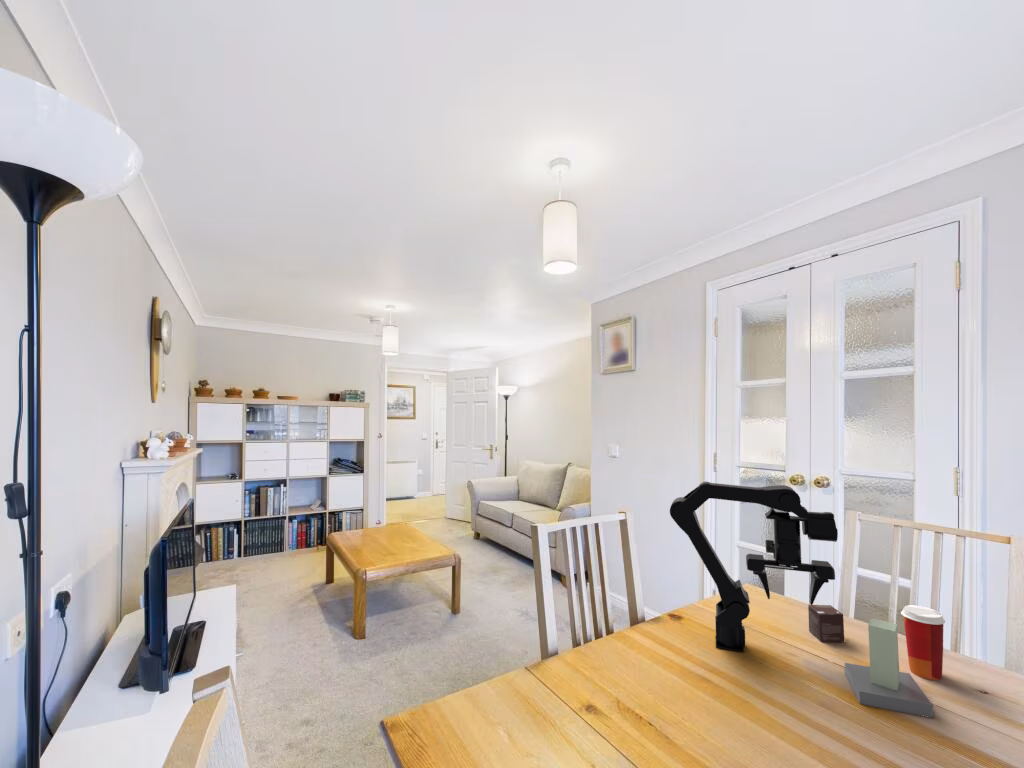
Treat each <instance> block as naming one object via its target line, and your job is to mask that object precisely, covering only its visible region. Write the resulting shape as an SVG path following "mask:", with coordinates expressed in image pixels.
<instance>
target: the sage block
mask: <svg viewBox="0 0 1024 768" xmlns="http://www.w3.org/2000/svg"><path fill="white" fill-rule="evenodd" d="M867 625H868V626H867V627H868V628H867V629H868V646H869V647H868V649H869V653H868V654H869V667H870V675H871V683H874V684H877V685H880V686H883V687H887V688H890V689H893V690H896V691H898V688H899V683H900V676H899V672H900V661H899V660H900V659H899V658H900V657H899V639H898V638H899V637H898V624H897V623H893V622H891V621H890V622H889V621H886V620H881V619H876V618H873V617H871V618H870V619H869V622H868V624H867Z"/></svg>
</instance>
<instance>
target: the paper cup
mask: <svg viewBox="0 0 1024 768" xmlns="http://www.w3.org/2000/svg"><path fill="white" fill-rule="evenodd" d="M900 615H901V616H903V624H904V632H905V634H904V635H905V643H906V649H907V651H906V652H907V658H908V659H907V660H908V666H909V667H908V668H909V670H911V671H910V672H911V673H912V674H913V675H915V676H918V677H919V678H922V677H923V678H922V679H925V680H929V679H930V681H941V680H942V678H943V666H944V665H943V660H944V659H943V658H944V624H945V623H946V620H945V619H944V616H943V615H942V614H941V613H940V612H939V611H937V610H935V609H933V608H929V607H927V606H926V607H925V606H921V605H914V604H913V605H909V604H908V605H905V606H904V607H903V608H902V611H901V612H900Z"/></svg>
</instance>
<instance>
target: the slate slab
mask: <svg viewBox="0 0 1024 768" xmlns="http://www.w3.org/2000/svg"><path fill="white" fill-rule="evenodd" d="M844 675H845V677H846V679H847V681H848V683H849V686H850V687H851V689H852V691H853V693H854V695H855V697H856V698H857V701H858V703H859V704H860V705H865V706H869V707H874V708H879V709H885V710H890V711H895V712H901V713H906V714H910V715H915V714H917V716H920V715H922V717H926V716H928V717H927V718H931V717H933V718H934V707H933V706H934V705H933V703H932V702H931V701H930V699H929V698H928V696H927V695H926V694H925V693H924V691H923V690H922V688H921V687H920V686H919V684H918V683H917V681H915V679H914V678H913V676H912V675H911V674H910V673H909V672H902V671H899V676H900V683H899V688H898V691H896V690H893V689H890V688H887V687H883V686H880V685H877V684H874V683H871V675H870V666H868V665H862V664H861V665H860V664H856V663H850V662H849V663H848V662H844ZM923 715H924V716H923Z"/></svg>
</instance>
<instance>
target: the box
mask: <svg viewBox="0 0 1024 768" xmlns="http://www.w3.org/2000/svg"><path fill="white" fill-rule="evenodd" d="M807 609H808V611H807V612H808V631H809V633H810V634H811V635H813V636H814V637H815V638H816V639H817V640H818V641H819V642H821V643H827V642H828V643H833V642H834V643H845V627H844V623H845V622H844V614H843V613H842V612H841V611H839V610H838V609H837V608H835V607H834V606H832V605H831V604H830V605H829V604H827V605H826V604H812V605H811V604H808V608H807Z"/></svg>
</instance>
